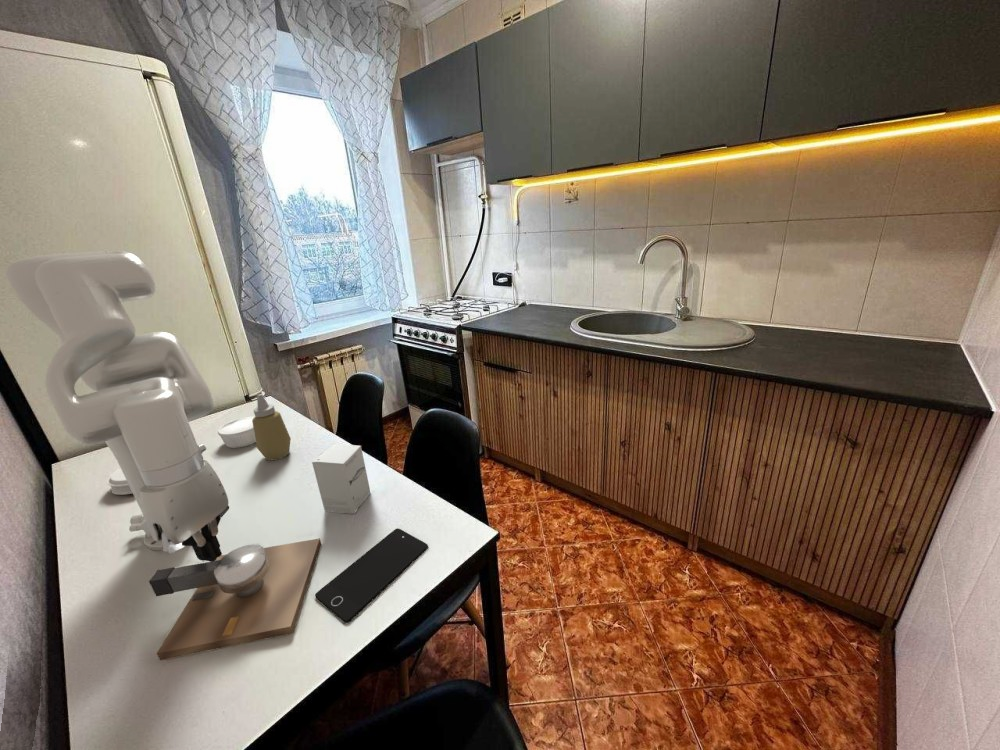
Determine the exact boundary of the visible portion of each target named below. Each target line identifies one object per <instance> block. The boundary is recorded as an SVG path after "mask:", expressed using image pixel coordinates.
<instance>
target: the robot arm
mask: <svg viewBox="0 0 1000 750" xmlns="http://www.w3.org/2000/svg"><path fill="white" fill-rule="evenodd" d="M5 272H6V279H7V281H8V284H9V286H10V287H11V289H12V290H13V292H14V294H15V295H16V297H17V298H18V299H19V301H20V302H21V303H22V305H24V308H26V309H27V310H28V311H29V312H30V313H31V314H32V315H33V316H34V317H35V318H36V319H38V320H39V321H40V322H41V323H43V325H45V326H46V327H47V328H48V329H50V330H51V331H53V332H54V334H56V336H58V338H59V339H60V341H61V343H62V344H61V345H60V346H59V347H58V349H57V350H56V351H55V353H54V355H52V357H51V359H50V362H49V364H48V366H47V368H46V373H45V389H46V393H47V395H48V397H49V399H50V401H51V404H52V405H53V409H54V410H55V412H56V415H57V416H58V418H59V420H60V423H61V424H62V426H63V429H64V430H65V431H66V433H67V435H69V437H71V438H72V440H73V441H75V442H77V443H80V444H82V445H97V444H102V443H105V444H106V446H107V447H108V448H109V450H110V451H111V453H112V454H113V457H114V458H115V460H116V462H117V464H118V465H119V468H120V467H121V470H122V472H123V474H124V476H125V478H126V480H127V482H128V484H129V486H130V488H131V490H132V492H133V493H132V494H133V496H134V498H135V500H136V503H137V505H138V507H139V509H140V512H141V513H142V514H138V515H137V514H136V515H132V516H131V517H130V520H129V523H130V526H129V532H138V531H144V537H143V543H144V545H145V547H146V548H147V549H149V550H152V551H163V552H164V553H165V554H166V553H167V554H174V553H176V552H178V551H180V550H181V549H183V548H184V547H192V550H193V551H194V552H193V553H195V556H196V558H197V560H199V561H201V562H202V561H206V562H212V561H215V560H216V559H217V557H220V556H221V555H223V553H222V550H221V544H220V541H219V539H218V537H217V535H218V534H219V524H220V521H221V518H223V516H224V515H225V514H226V513H227V512H228V511H229V509H230V506H229V504H230V503H229V497H228V495H227V492H226V490H225V487H224V485H223V483H222V481H221V479H220V477H219V475H218V474H217V471H215V469H214V468H213V467H212V465H211V464H210V463H209V462H208V460H205V459H204V457H203V453H204V452H205V451H206V450H207V447H206V446H205V445H204V444H203V443H200V444H198V443H197V441H196V438H195V436H194V433H193V430H192V428H191V425H190V422H192V421H195V420H196V421H197V420H199V419H201V418H204V417H206V416H208V415H209V414H210V413H211V412H212V411H213V409H214V405H215V404H214V403H215V401H214V398H213V397H214V396H213V394H212V392H211V389H210V388H209V385H207V383H206V381H205V380H204V378H203V376H202V375H201V372H200V371H199V370H198V368H197V366H196V364H195V363H194V361H193V359H192V357H191V355H190V354H189V353H188V351H187V349H186V348H185V346H184V344H183V343H182V342H181V340H179V338H177V336H175V335H174V334H172V333H170V332H165V331H153V332H145V333H142V334H137V332H136V327H135V325H134V323H133V322H132V320H131V318H130V316H129V314H128V313H127V311H126V310H125V307H124V306H123V304H122V303H125V302H126V303H127V302H133V301H141V300H147V299H149V298H150V299H151V298H153V296H154V295H155V292H156V283H155V279H154V277H153V274H152V273H151V270H150V269H149V268H148V266H147V265H146V264H145V262H144V261H143V260H141V258H139V257H138V256H137V255H135V254H134V253H132V252H128V251H124V250H116V249H115V250H103V251H102V250H100V251H83V252H67V253H53V254H41V255H34V256H28V257H25V258H20V259H17V260H15V261H13V262H11V263H10V264H9V265H8V266H7V268H6V271H5ZM80 378H81V380H82V381H83V382H84V384H85V385H86V386H87V387H88V388H89V389H91V390H93V391H94V392H90V393H85V394H83V395H77V393H76V389H75V385H76V383H77V381H78V380H79V379H80Z"/></svg>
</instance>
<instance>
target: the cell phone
mask: <svg viewBox="0 0 1000 750" xmlns="http://www.w3.org/2000/svg"><path fill="white" fill-rule="evenodd" d="M428 549H429V545H428V543H426V542H424V541H422V540H421V539H419V538H417V537H415V536H413V535H412V534H410V533H408V532H407V531H405V530H403V529H400V528H398V527H397V528H395V529H393V530H392V531H391V532H390V533H388V534H387V535H386V536H385V537H383V538H382V539H381V540H379V542H377V543H376V544H375V545H373V546H372V547H371V548H370V549H369V550H367V551H366V552H365V553H364V554H362V555H361V556H360V557H359V558H357V559H356V560H355V561H354V562H353V563H351V564H350V565H348V567H346V568H345V569H344V570H343V571H342V572H340V573H339V574H338V575H337V576H335V577H334V578H333V579H331V581H329V582H327V584H325V585H324V586H323V587H321V588H320V589H319V590H318V591H317V592H316V593H315V594H314V597H315V599H316V600H317V602H319V603H320V604H322V606H323V607H325V608H326V609H327V610H328V611H330V612H331V613H332V614H334V615H335V616H336V617H337V618H338V619H340V620H341V621H342V622H343V623H344V624H349V623H350V622H352V621H353V620H354V619H355V618H356V617H357V616H358V615H359V614H360V613H361V612H362V611H363V610H364V609H365V608H367V606H369V605H370V603H371V602H373V601H374V600H375V599H376V598H378V596H379V595H380V594H382V593H383V591H384V590H386V589H387V587H389V586H390V585H391V584H392V583H393V582H394V581H395V580H397V578H398V577H400V575H402V574H403V572H405V571H406V570H407V569H408V568H409V567H410V566H411V565H412V564H413V563H414V562H415V561H416V560H417V559H419V558H420V557H421V556H422V555H423V554H424V553H425V552H426V551H427V550H428Z"/></svg>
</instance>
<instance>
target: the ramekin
mask: <svg viewBox="0 0 1000 750" xmlns="http://www.w3.org/2000/svg"><path fill="white" fill-rule="evenodd" d="M254 417H255V416H246V417H241V418H240V417H239V418H236V419H234V420H230V421H228V422H226V423H224V424H223V425H220V427H219V428H218V429H217V434H218V436H220V438H221V440H222V442H223V444H224V445H225V446H226V447H229V448H231V449H237V448H243V447H247V446H251V445H252V444H255V443H256V438H255V433H254V428H253V422H252V420H253V418H254Z"/></svg>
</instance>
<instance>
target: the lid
mask: <svg viewBox="0 0 1000 750" xmlns="http://www.w3.org/2000/svg"><path fill="white" fill-rule="evenodd" d="M106 483H107V485H108V486H110V487H111V488H110V491H111V493H112V494H114V495H119V496H120V495H130V494H133V492H132V490H131V488H130V486H129V484H128V482H127V480H126V478H125V476H124V474H123V472H122V470H121V467H120V466H119V468H117V469H115V470H114V471H113V472H112V473H111V475H109V477H107V479H106Z"/></svg>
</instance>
